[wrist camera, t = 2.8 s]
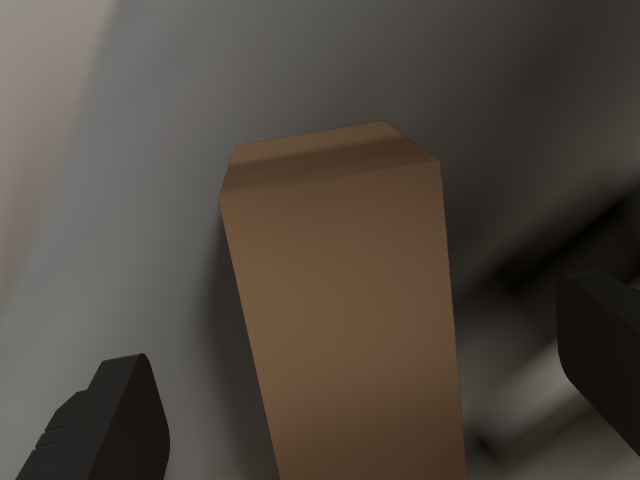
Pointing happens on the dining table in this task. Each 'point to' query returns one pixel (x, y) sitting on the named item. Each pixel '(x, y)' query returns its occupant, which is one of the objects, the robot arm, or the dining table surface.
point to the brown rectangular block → (348, 303)
